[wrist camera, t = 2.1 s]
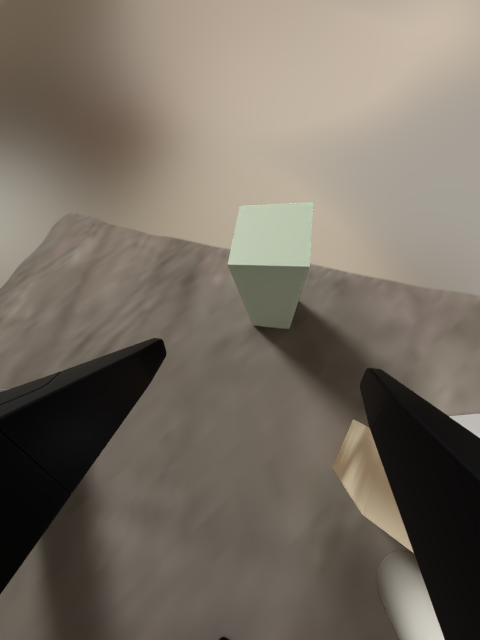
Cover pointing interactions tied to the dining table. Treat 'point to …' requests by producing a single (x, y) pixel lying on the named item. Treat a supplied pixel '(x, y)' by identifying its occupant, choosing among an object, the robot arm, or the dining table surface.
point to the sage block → (271, 260)
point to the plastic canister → (407, 598)
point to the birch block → (369, 482)
